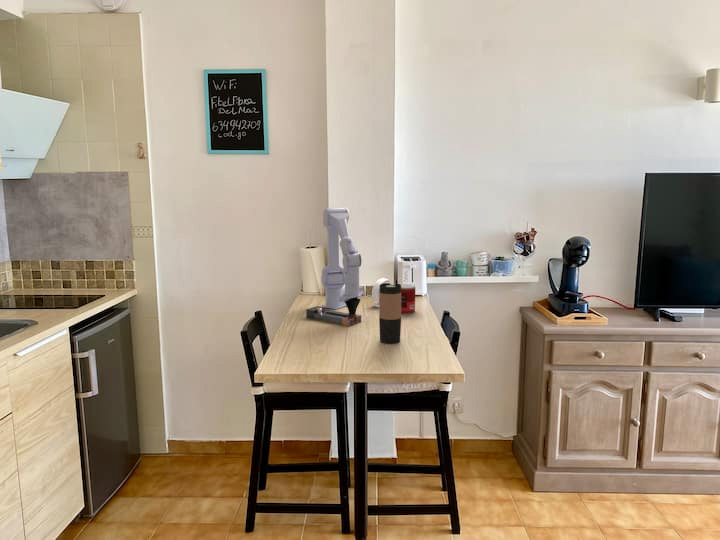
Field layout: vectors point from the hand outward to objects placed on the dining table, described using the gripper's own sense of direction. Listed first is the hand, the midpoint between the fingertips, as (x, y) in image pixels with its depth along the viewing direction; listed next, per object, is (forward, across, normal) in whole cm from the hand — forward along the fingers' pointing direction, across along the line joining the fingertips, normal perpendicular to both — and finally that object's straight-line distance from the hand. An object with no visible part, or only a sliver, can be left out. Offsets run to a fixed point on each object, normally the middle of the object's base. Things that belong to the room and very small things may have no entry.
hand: (352, 316), depth 224 cm
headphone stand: (+2, +26, +4) cm, 26 cm away
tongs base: (+1, -5, +6) cm, 8 cm away
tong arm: (+1, -2, +3) cm, 4 cm away
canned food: (+2, +25, -10) cm, 27 cm away
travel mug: (+2, -15, -28) cm, 32 cm away
